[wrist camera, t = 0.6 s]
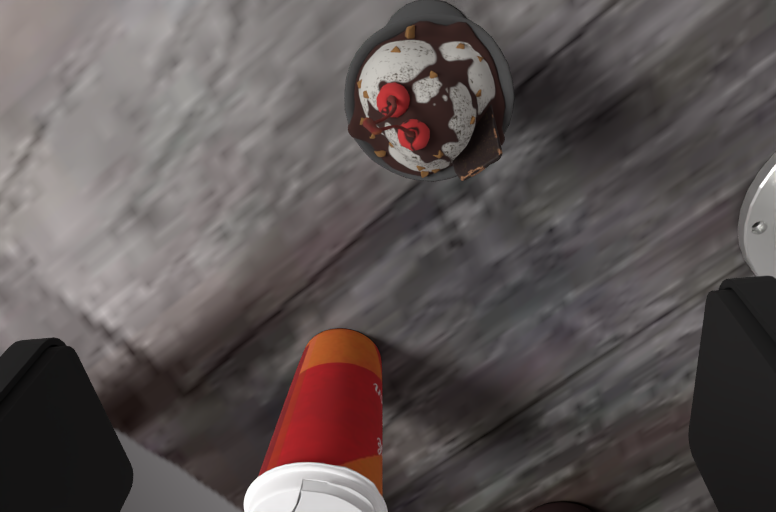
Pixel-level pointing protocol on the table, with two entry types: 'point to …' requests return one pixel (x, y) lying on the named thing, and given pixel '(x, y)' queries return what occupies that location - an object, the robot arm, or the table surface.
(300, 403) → the paper cup
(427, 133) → the sundae
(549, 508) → the bottle
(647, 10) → the table surface
